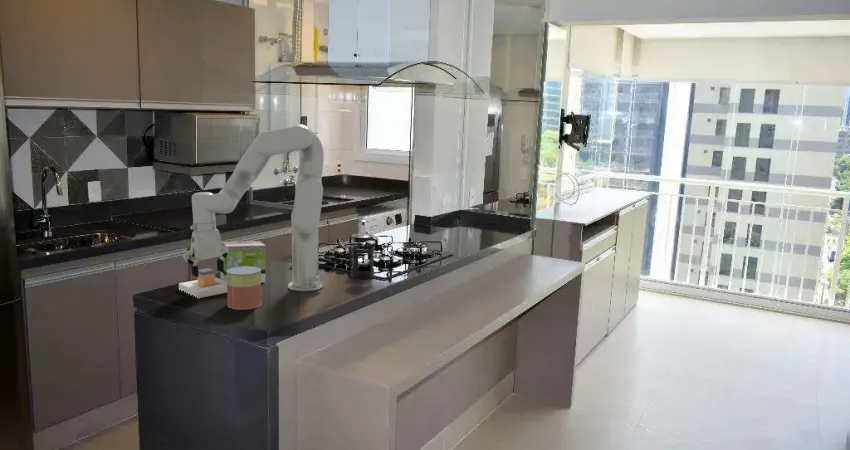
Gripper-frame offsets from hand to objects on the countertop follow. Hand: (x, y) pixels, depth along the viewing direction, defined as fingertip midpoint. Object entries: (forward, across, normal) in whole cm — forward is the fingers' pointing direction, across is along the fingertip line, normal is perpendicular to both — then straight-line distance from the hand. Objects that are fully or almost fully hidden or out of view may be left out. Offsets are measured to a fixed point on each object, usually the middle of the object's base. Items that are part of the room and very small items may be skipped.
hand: (208, 273), depth 234 cm
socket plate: (+6, -1, 0) cm, 6 cm away
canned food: (+7, 0, -24) cm, 24 cm away
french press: (+8, +54, -22) cm, 59 cm away
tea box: (+6, +15, +2) cm, 17 cm away
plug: (+6, -1, 0) cm, 6 cm away
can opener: (+8, +49, +4) cm, 50 cm away
